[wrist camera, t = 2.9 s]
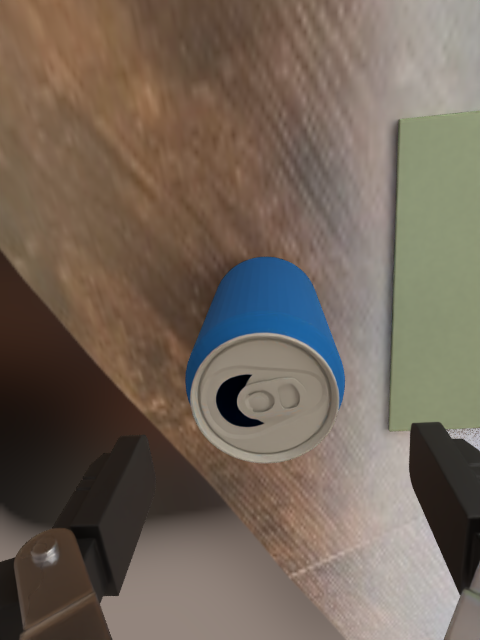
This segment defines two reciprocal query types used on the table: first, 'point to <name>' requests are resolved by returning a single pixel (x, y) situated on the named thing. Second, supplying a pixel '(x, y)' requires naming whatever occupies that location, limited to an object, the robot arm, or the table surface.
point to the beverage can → (265, 365)
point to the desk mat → (436, 274)
